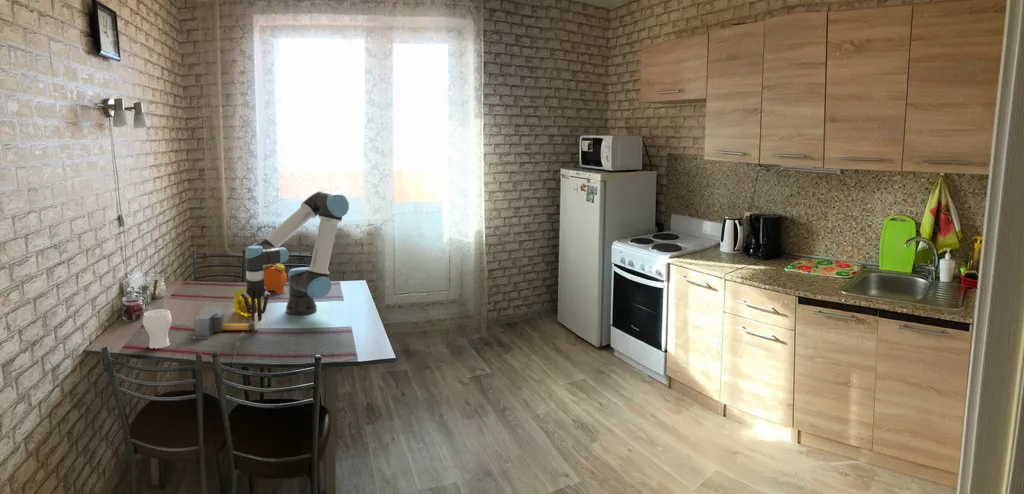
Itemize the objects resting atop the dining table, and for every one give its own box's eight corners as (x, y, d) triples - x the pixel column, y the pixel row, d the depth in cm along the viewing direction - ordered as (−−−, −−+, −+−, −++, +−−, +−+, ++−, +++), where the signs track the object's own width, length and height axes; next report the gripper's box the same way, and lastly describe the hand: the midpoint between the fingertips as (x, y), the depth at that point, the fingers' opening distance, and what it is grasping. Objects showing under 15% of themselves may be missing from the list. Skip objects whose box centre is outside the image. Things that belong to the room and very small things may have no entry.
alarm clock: (288, 291, 356) (287, 258, 352) (281, 294, 350) (280, 260, 346) (268, 289, 358) (266, 256, 355) (261, 291, 353) (260, 258, 349)
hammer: (255, 328, 291) (254, 314, 290) (253, 331, 287) (252, 317, 286) (215, 328, 288) (214, 314, 287) (212, 331, 284) (211, 317, 283)
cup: (160, 351, 258) (158, 317, 256) (139, 348, 260) (136, 314, 258) (179, 343, 269) (176, 310, 266) (158, 340, 271) (155, 308, 268)
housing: (225, 322, 298) (224, 305, 297) (208, 339, 275) (207, 320, 273) (210, 322, 297) (209, 305, 296) (192, 339, 274) (190, 321, 272)
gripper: (271, 277, 289) (273, 324, 293) (242, 277, 287) (245, 324, 291) (268, 281, 282) (269, 329, 286) (238, 281, 280) (240, 330, 284)
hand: (257, 327), depth 289 cm, fingers closed
